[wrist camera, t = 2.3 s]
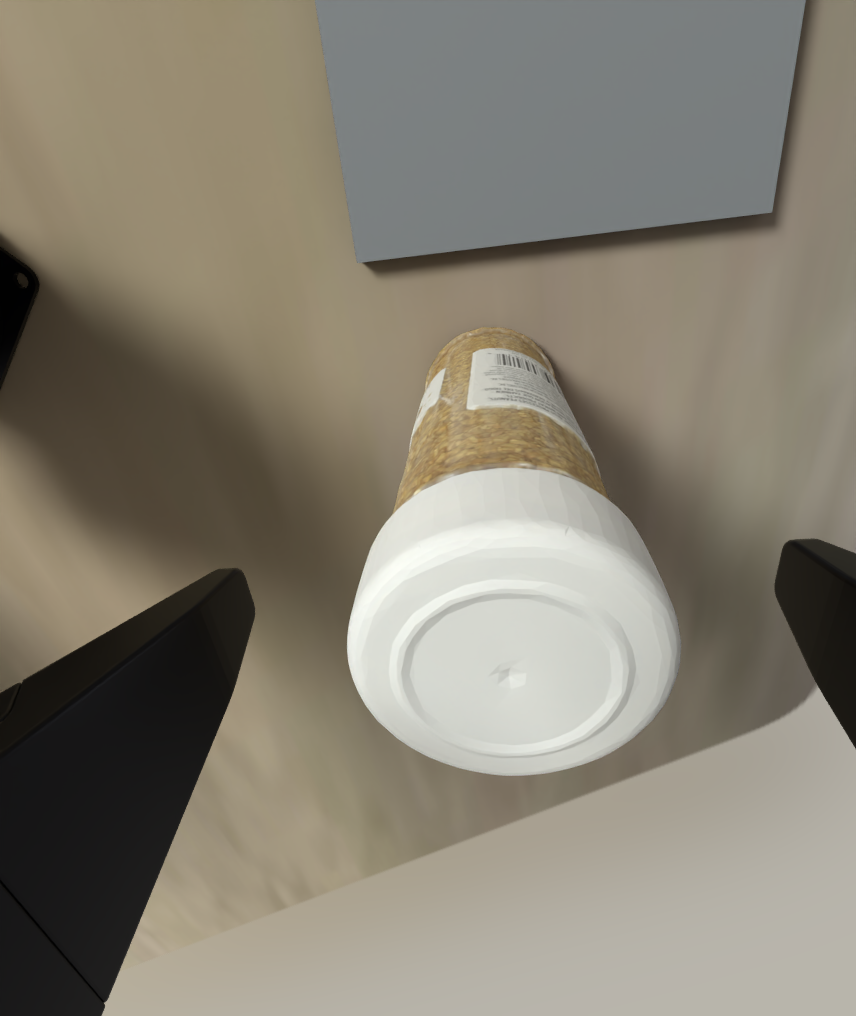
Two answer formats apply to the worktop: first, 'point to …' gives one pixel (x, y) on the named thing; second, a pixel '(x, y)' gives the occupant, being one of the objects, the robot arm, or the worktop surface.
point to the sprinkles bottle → (508, 580)
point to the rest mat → (553, 116)
